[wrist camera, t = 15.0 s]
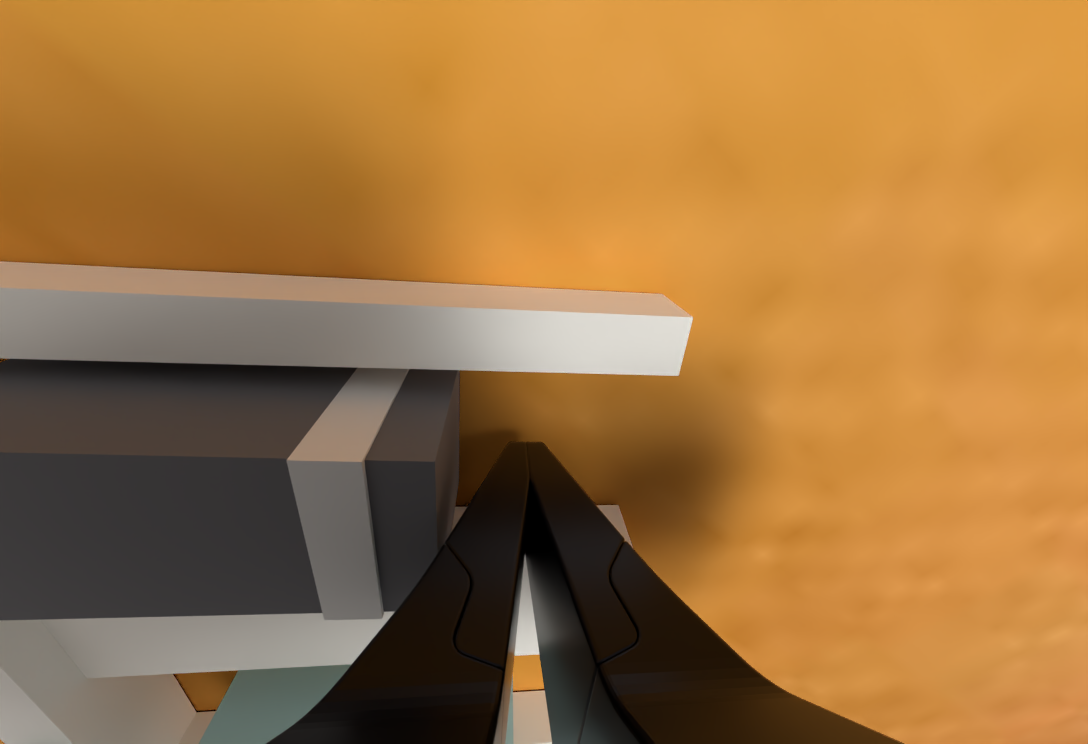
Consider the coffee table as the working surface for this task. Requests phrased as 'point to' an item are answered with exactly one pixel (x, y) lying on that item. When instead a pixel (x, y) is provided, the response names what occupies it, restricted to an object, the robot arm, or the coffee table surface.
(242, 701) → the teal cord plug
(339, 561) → the dark grey block
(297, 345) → the slot rack
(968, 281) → the coffee table surface
